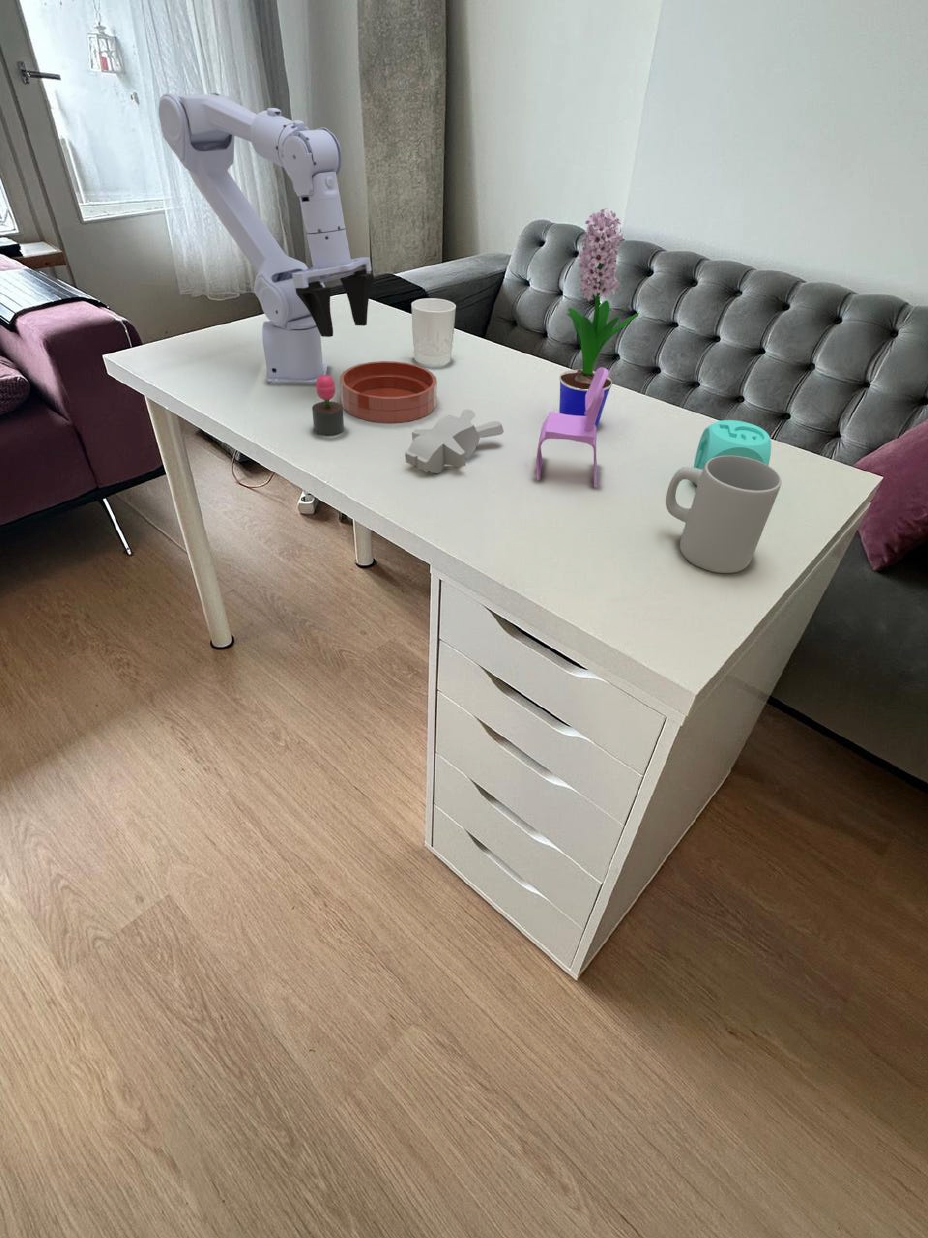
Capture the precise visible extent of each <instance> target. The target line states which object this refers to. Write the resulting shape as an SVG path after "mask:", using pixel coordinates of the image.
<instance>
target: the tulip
mask: <svg viewBox="0 0 928 1238" xmlns="http://www.w3.org/2000/svg"><path fill="white" fill-rule="evenodd" d="M315 385H316V386H315V387H316V388H315V389H316V393H317V394H316V395H318V397H319V398H320V399H322V400H323V401H320V402H317V403H315V404H313V405H312V407H311V410H312V420H313V430H314V432H315V434H317V435H319V436H323V437H335V436H339V435H341V434H342V433H344V431H345V423H344V408H343V406H342V404H341V403H339V402H337V401H336V402H335V401H331V400H332V399H333V398H334V396H335V394H336V384H335V381H334V378H333V377H332V376H330V375H329V374H326V375H321V376H320V377H319V378H318V379H317V381H316V382H315Z"/></svg>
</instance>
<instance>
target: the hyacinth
mask: <svg viewBox="0 0 928 1238" xmlns="http://www.w3.org/2000/svg"><path fill="white" fill-rule="evenodd" d="M605 210H606V211H605ZM605 214H606V215H605ZM616 216H617V215H616V212H614V211H613V210H609V211H608V208H607V207H605V208H602V209H600V210H599V211H598V212H595V211H594V212H592V213H591V214H590V215H589V217H588V218H587V220H585V223H584V224H586V225H587V227H586V228H585V230H584V233H585V235H584V238H582V239H581V241H580V243H582V244H581V246H582V248H579V250H578V251H579V253H578V257H579V260H578V267H579V268H580V269H579V271H580V272H579V275H580V279H581V280H580V284H579V285H578V288H580V291H581V293H582V298H583V299H587V301H588V302H590V301H593V300H594V310H593V320H592V321H591V320H590V319H589V318H588V317H586V316H582V315H581V313H579V311H577V310H576V309H574V308H572V307H568V308H567V313H566V315H567V316H568V317H570V318H571V320H572V323H573V325H574V328H575V332H576V336H577V340H578V344H579V347H580V353H581V358H582V369H571V370H565V371H564V372H562V373H561V374H560V375H559V401H558V402H559V403H558V405H559V407H558V409H559V412H558V413H562V414H567V415H576V416H586V415H585V414H584V412H585V411H586V408H585V395H586V393H587V391H588V389H589V387H590V385H591V383H592V380H593V378H594V375H595V372H596V371H594V370H593V368H594V366H595V363H596V360H597V358H598V356H599V355H600V353H601V351H602V349H603V348H604V346H605V345H606V344H607V342H608V341H609V340H610V339H611V338H612V337H613V336H614V335H615V334H616V333H617V332H619V331H620V330H621V329H622V328H624V327H625V326H627V325H628V324H630V323H631V322H632V321H633V320H635V319H636V318H637V317H638V316H639V315H640V313H639V312H636V313H635V314H633V315H631V316H630V317H628V318H627V319H625V320H622V322H620V323H618V321H619V319H620V316H616V317H614V318H612V319H611V320H610V321H609V317H610V303H609V301H608V300H606V299H605V300H604V301H602V303H601V297H602V296H603V297H604V298H607V297H608V295H612V296H614V295H615V292H619V291H620V288H619V287H620V286H621V282H619V281H620V280H621V278H620V277H617V273H616V272H617V263H616V262H615V261H616V260H617V258H618V254H619V249H620V247H621V246H622V240H623V238H624V237H623V236H624V235H623V234H622V227H619V226H618V225H622V224H621V222H620V220H621V219H620V218H619V217H616ZM618 227H619V228H620V229H619V228H618ZM581 249H582V250H581ZM584 273H585V274H584ZM593 295H594V296H595V299H594V298H593V297H592V296H593ZM600 303H601V304H600ZM617 323H618V324H617ZM612 386H613V381H612V379H611V378H610V377H609V376H608V377H607V379H606V381H605V383H604V385H603V388H602V389H604V398H603V401H602V404H601V407H600V410H599V413H598V416H597V419H596V422H595V426H596V430H598V427H599V424H600V421H601V418H602V414H603V411H604V409H605V405H606V401H607V400H608V396H609V393H610V389H611V388H612Z"/></svg>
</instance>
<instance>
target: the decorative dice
mask: <svg viewBox="0 0 928 1238" xmlns="http://www.w3.org/2000/svg"><path fill="white" fill-rule="evenodd" d="M771 455H772V439H771V437H770V434H769V433H768V432H767V431H766V430H765V429H763V428H762V427H760V426H758V425H755V424H753V423H750V422H747V421H742V420H736V419H722V420H718V421H715V422H713V423H712V424H710V425H708V426H707V427H705V428H704V430H703V432H702V434H701V436H700V438H699V441H698V445H697V448H696V453H695V458H694V461H693V462H694V463H693V468H698V469H702V470H703V469H704V466H705V464H706V463H707V462H708V461H709V460H710V459H712V458H715V457H719V456H740V457H746V458H750V459H753V460H757V461H759V462H762V463H764V464H766V465H768V466H769V465H770V460H771Z"/></svg>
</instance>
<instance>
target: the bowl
mask: <svg viewBox="0 0 928 1238" xmlns="http://www.w3.org/2000/svg"><path fill="white" fill-rule="evenodd" d="M437 385H438V382H437V377H436V375H435V374H434V373H433V372H432V371H430V370H429V369H427V368H425V367H422V366H420V365H417V364H413V363H409V362H405V361H394V360H393V361H392V360H380V361H368V362H364V363H359V364H356V365H353V366H350V367H348V368H347V369H345V370H344V371H343V372H342V373H341V375H340V377H339V388H340V401H341V403H340V404H341V405H342V407H343V410H344V411H345V412H347V413H348V414H349V415H352V416H353V417H356V418H358V419H361V420H365V421H368V422H374V423H382V424H398V423H407V422H413V421H417V420H419V419H422V418H424V417H427V416H428V415H430V414H431V413H433V412H434V410H435V409H436V407H437V392H438V391H437V387H438V386H437Z"/></svg>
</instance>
